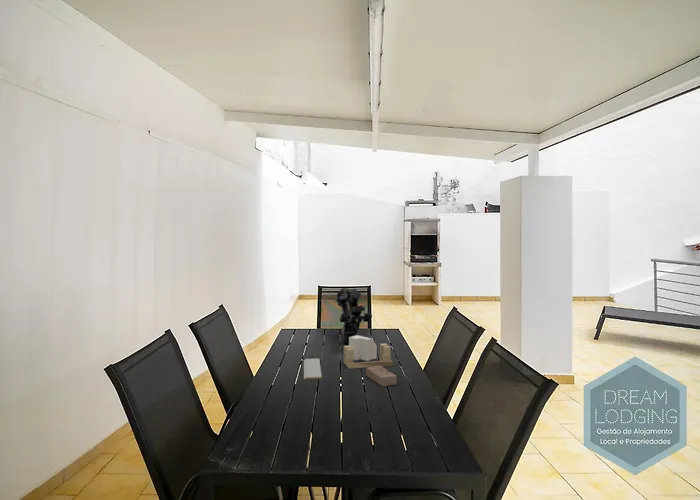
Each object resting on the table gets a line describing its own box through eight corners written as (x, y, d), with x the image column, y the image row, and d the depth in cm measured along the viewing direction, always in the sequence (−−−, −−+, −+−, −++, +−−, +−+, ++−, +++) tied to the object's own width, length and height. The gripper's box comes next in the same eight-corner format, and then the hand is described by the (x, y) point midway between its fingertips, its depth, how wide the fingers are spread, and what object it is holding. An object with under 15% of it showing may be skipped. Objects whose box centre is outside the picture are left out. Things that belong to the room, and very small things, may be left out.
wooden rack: (343, 362, 233) (343, 345, 232) (385, 359, 238) (386, 343, 238) (348, 368, 221) (348, 351, 221) (392, 365, 227) (392, 349, 226)
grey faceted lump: (348, 358, 240) (349, 337, 239) (362, 354, 248) (362, 333, 247) (363, 362, 232) (363, 340, 232) (376, 358, 241) (376, 336, 240)
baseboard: (300, 380, 206) (321, 379, 207) (300, 374, 206) (321, 374, 207) (301, 361, 236) (319, 361, 237) (301, 356, 236) (319, 355, 237)
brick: (397, 384, 200) (397, 374, 200) (381, 387, 196) (381, 377, 196) (380, 374, 215) (380, 364, 215) (365, 376, 211) (365, 366, 211)
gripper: (341, 300, 253) (345, 323, 243) (371, 300, 258) (376, 322, 248) (337, 310, 261) (341, 333, 251) (367, 309, 266) (371, 332, 256)
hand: (358, 330), depth 251 cm, fingers closed
